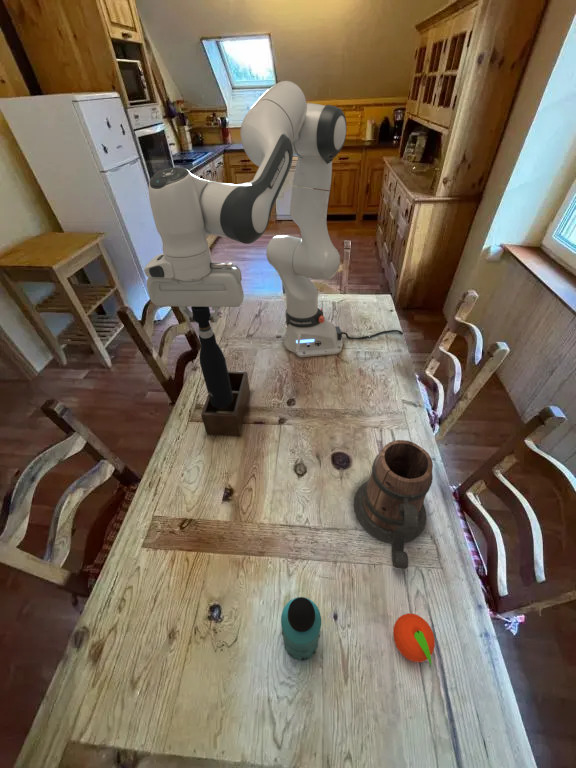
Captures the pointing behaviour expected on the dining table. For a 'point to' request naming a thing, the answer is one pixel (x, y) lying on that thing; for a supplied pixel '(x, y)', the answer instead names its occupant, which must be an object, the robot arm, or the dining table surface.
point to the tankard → (396, 497)
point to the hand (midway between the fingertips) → (203, 321)
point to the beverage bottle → (301, 628)
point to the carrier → (228, 409)
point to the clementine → (414, 638)
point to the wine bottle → (212, 361)
